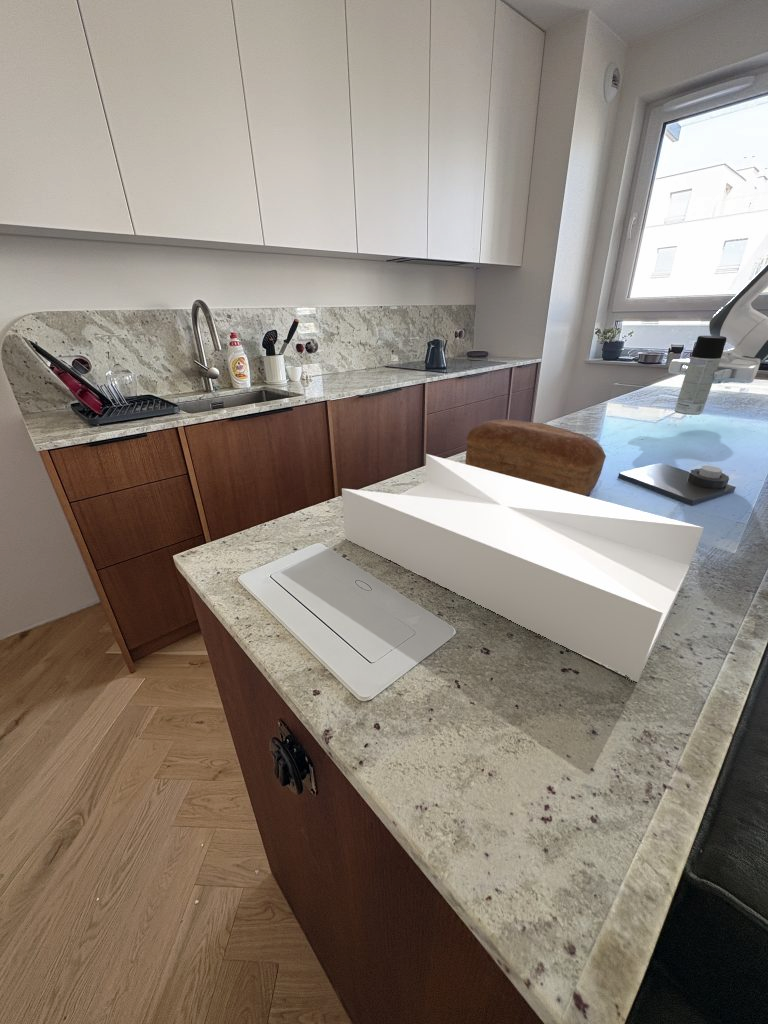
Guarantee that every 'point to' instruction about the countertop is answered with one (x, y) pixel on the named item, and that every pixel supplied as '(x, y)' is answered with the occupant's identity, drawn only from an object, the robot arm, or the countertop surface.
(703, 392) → the spray can
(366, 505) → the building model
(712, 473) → the power button
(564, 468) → the bread
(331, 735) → the countertop surface
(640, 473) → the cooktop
